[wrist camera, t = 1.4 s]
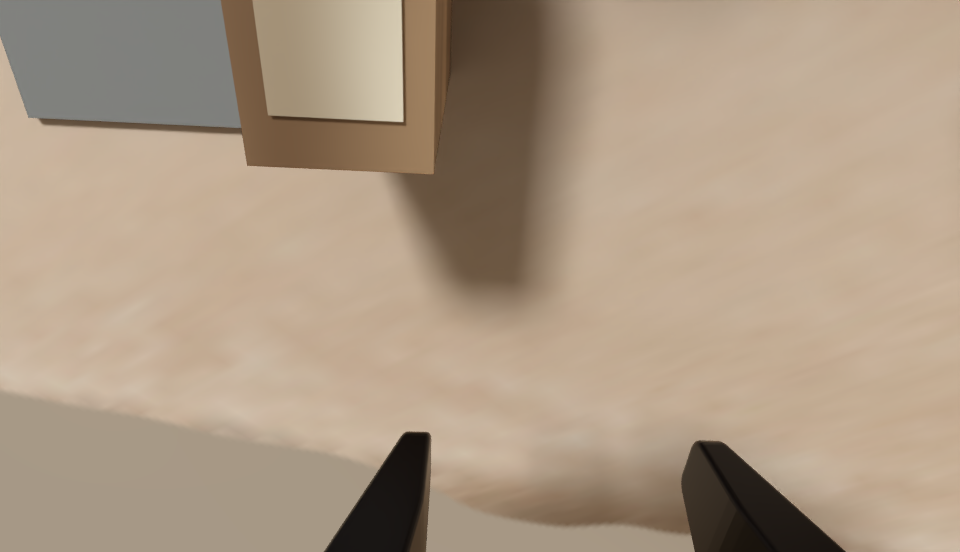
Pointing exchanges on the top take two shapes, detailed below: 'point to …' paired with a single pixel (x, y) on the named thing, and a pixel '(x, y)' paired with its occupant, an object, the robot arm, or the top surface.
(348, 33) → the walnut slab
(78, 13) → the grey rubber mat
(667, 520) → the top surface
